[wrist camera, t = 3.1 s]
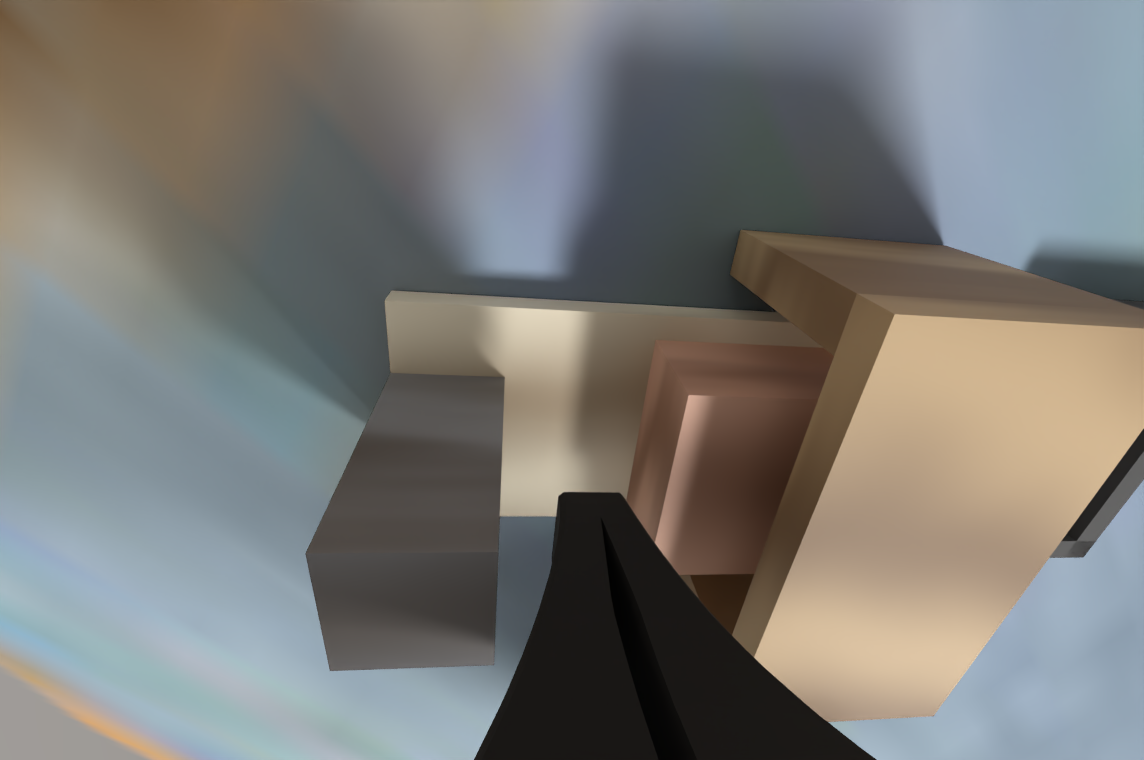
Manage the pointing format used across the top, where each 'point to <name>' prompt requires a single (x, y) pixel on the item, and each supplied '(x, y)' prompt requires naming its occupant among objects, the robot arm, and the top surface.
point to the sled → (550, 455)
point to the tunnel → (923, 462)
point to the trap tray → (1106, 496)
